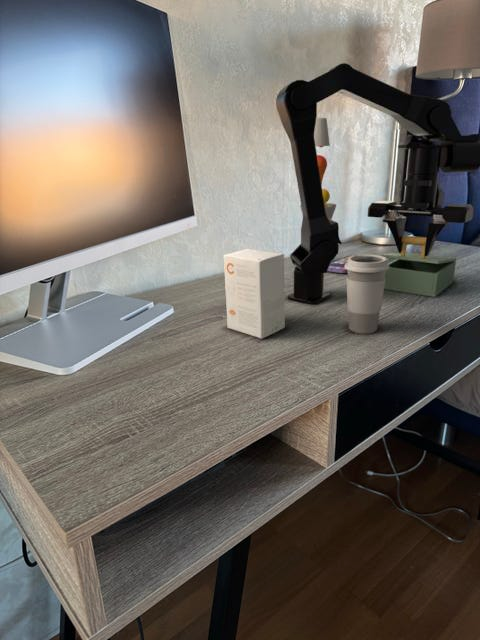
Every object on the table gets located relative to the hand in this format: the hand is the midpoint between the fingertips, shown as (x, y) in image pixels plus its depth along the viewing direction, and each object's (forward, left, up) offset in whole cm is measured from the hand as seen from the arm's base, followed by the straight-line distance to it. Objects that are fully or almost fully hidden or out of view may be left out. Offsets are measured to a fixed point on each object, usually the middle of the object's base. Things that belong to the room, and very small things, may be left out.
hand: (413, 254), depth 90 cm
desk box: (+4, 0, -8) cm, 9 cm away
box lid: (+4, 0, -2) cm, 4 cm away
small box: (-35, +14, -8) cm, 38 cm away
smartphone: (+11, +20, -8) cm, 24 cm away
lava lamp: (+10, +28, -8) cm, 31 cm away
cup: (-25, -1, -8) cm, 26 cm away
